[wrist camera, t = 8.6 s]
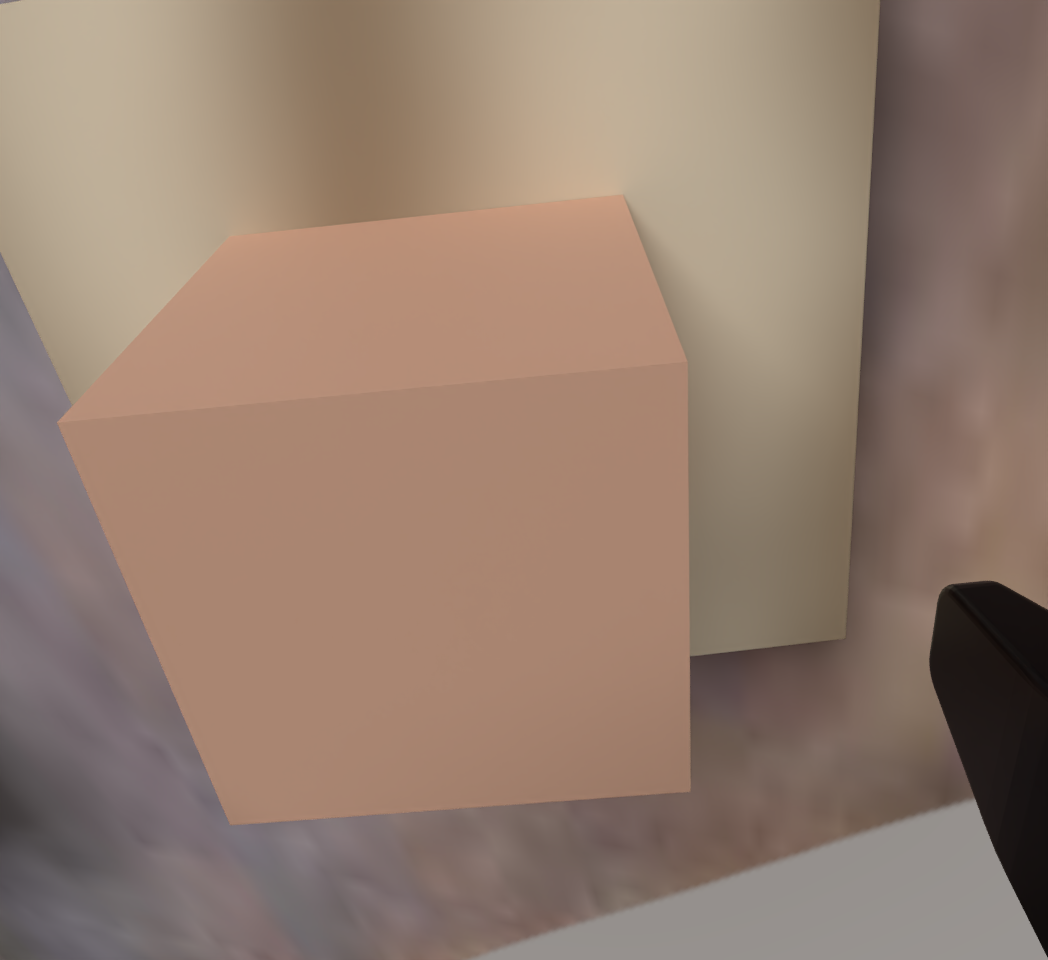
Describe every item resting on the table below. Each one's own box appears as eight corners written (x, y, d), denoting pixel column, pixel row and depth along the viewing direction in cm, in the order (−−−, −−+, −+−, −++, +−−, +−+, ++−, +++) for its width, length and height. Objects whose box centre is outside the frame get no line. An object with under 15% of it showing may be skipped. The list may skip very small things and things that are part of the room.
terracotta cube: (622, 194, 11) (686, 362, 7) (637, 523, 14) (690, 791, 9) (229, 236, 11) (56, 423, 7) (317, 551, 14) (230, 824, 10)
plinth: (819, -138, 11) (888, -153, 9) (804, 550, 17) (845, 638, 15) (2, 6, 12) (-107, 22, 10) (250, 617, 18) (215, 711, 16)
